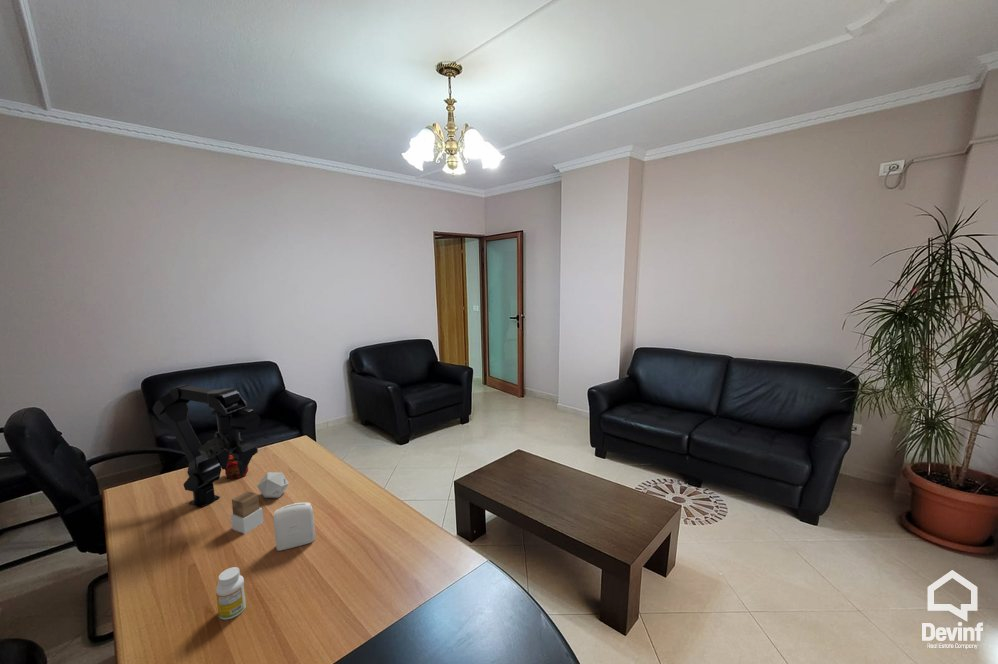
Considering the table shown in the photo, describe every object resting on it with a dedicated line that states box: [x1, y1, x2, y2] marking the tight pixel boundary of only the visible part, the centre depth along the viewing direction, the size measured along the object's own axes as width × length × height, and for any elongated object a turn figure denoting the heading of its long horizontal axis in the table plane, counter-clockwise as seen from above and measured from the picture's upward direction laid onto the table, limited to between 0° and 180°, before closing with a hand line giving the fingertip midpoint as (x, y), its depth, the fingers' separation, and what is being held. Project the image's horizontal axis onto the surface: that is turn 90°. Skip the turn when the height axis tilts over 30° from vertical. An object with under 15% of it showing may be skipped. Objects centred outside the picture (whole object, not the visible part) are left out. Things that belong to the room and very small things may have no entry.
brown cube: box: [231, 490, 261, 518], centre depth 119 cm, size 5×5×5 cm
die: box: [256, 471, 290, 499], centre depth 136 cm, size 8×9×10 cm
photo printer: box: [273, 502, 316, 552], centre depth 111 cm, size 10×4×12 cm, turn 114°
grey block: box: [230, 507, 265, 535], centre depth 119 cm, size 6×6×5 cm
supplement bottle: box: [215, 566, 247, 620], centre depth 89 cm, size 5×5×10 cm
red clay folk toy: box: [224, 454, 249, 480], centre depth 149 cm, size 8×7×15 cm
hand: (233, 471), depth 127 cm, fingers open, 9 cm apart
